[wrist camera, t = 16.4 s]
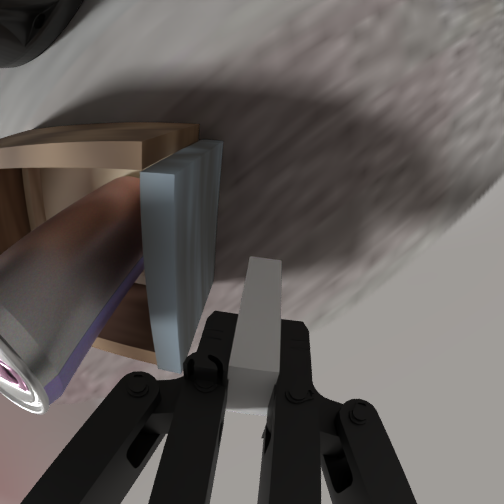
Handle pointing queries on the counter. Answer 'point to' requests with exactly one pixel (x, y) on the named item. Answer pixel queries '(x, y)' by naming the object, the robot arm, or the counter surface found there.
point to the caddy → (91, 156)
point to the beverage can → (66, 290)
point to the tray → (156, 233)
